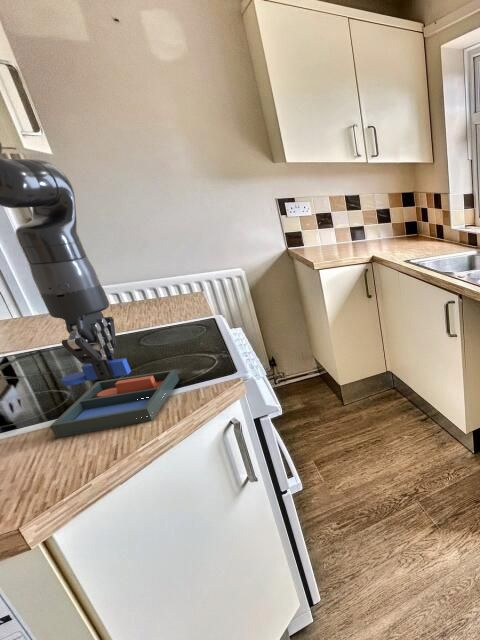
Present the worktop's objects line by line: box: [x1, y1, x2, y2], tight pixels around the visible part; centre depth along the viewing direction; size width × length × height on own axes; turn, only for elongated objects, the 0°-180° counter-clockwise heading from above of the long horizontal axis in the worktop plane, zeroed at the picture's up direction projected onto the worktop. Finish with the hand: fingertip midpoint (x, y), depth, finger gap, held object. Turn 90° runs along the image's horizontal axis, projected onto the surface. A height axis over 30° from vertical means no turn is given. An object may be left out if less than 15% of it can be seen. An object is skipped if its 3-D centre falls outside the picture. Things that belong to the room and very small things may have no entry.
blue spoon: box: [60, 357, 132, 387], centre depth 77 cm, size 10×4×3 cm, turn 113°
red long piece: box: [97, 376, 157, 398], centre depth 88 cm, size 10×4×3 cm, turn 113°
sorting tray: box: [49, 369, 180, 439], centre depth 84 cm, size 14×18×3 cm
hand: (109, 375), depth 79 cm, fingers closed on blue spoon, 1 cm apart
